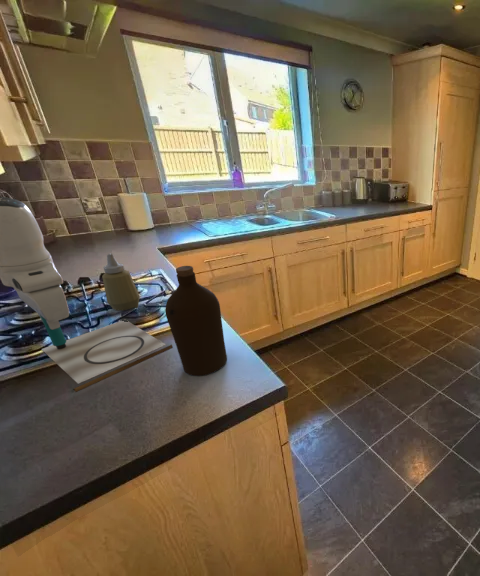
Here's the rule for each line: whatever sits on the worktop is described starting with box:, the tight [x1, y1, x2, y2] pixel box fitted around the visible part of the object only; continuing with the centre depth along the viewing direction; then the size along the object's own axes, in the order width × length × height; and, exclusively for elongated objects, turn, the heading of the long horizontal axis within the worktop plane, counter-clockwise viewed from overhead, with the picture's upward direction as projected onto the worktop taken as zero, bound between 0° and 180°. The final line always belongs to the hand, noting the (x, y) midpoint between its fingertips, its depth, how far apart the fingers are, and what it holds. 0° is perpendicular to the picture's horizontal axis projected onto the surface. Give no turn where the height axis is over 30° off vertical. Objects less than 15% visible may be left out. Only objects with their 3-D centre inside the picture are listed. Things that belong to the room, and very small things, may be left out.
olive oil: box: [165, 265, 228, 377], centre depth 74 cm, size 11×11×25 cm
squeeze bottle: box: [101, 252, 141, 312], centre depth 99 cm, size 8×8×18 cm
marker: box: [39, 315, 67, 349], centre depth 79 cm, size 2×2×12 cm
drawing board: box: [41, 320, 174, 393], centre depth 83 cm, size 24×20×1 cm
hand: (52, 325), depth 79 cm, fingers closed on marker, 2 cm apart
